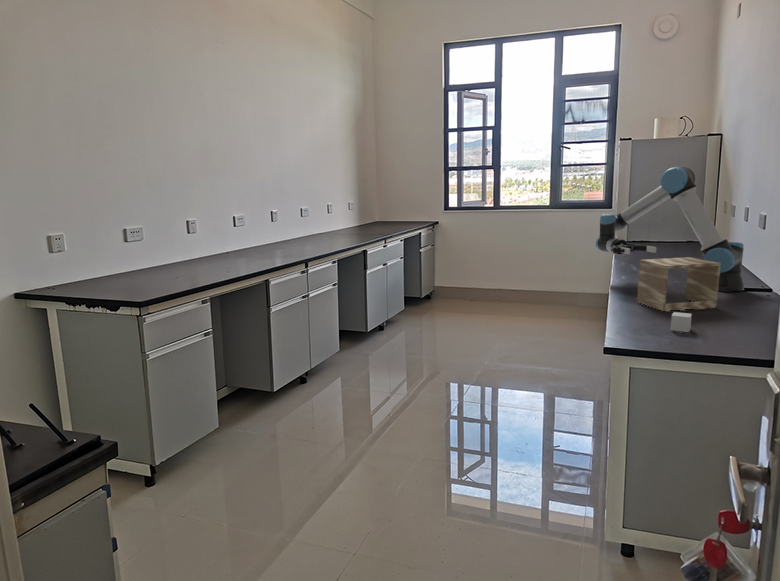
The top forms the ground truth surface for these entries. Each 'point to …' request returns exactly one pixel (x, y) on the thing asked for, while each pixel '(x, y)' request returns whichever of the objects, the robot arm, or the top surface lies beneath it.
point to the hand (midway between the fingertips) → (642, 250)
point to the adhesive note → (681, 321)
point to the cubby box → (698, 283)
